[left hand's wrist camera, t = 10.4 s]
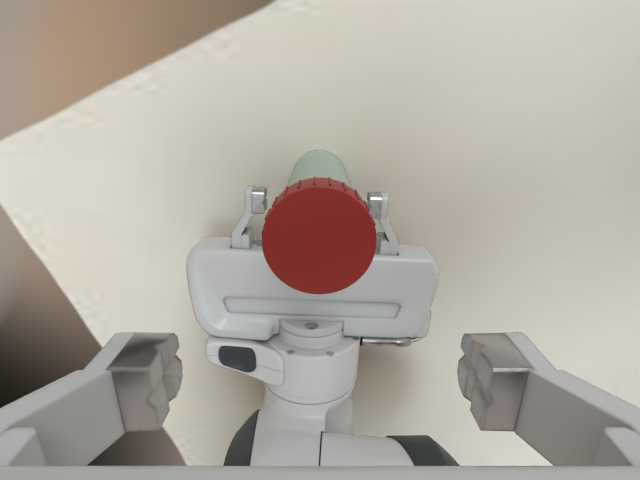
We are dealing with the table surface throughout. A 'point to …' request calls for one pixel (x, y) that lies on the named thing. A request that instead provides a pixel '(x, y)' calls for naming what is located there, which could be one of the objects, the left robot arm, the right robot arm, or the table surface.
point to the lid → (319, 236)
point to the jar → (319, 167)
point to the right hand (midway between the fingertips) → (317, 190)
